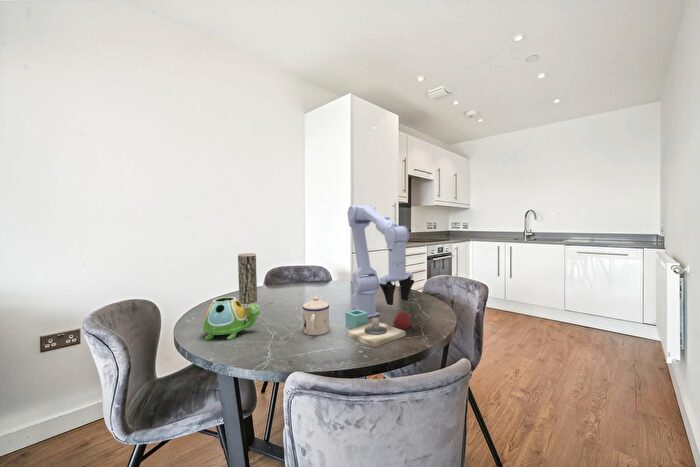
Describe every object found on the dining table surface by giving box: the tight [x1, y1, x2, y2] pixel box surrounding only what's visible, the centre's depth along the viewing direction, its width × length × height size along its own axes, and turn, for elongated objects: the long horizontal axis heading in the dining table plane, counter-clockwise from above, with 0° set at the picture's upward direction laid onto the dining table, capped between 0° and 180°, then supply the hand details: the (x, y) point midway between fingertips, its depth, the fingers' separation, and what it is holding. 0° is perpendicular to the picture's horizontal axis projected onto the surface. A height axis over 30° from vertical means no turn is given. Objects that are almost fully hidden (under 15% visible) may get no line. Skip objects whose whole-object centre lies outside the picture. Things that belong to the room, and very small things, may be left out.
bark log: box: [237, 252, 258, 319], centre depth 120 cm, size 7×7×25 cm
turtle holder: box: [202, 296, 261, 341], centre depth 101 cm, size 12×18×12 cm
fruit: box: [392, 311, 418, 330], centre depth 104 cm, size 6×6×8 cm
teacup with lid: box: [302, 296, 330, 336], centre depth 100 cm, size 12×9×12 cm
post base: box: [346, 317, 406, 348], centre depth 97 cm, size 13×14×6 cm
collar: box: [345, 309, 369, 330], centre depth 106 cm, size 6×6×5 cm
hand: (397, 302), depth 101 cm, fingers open, 7 cm apart
